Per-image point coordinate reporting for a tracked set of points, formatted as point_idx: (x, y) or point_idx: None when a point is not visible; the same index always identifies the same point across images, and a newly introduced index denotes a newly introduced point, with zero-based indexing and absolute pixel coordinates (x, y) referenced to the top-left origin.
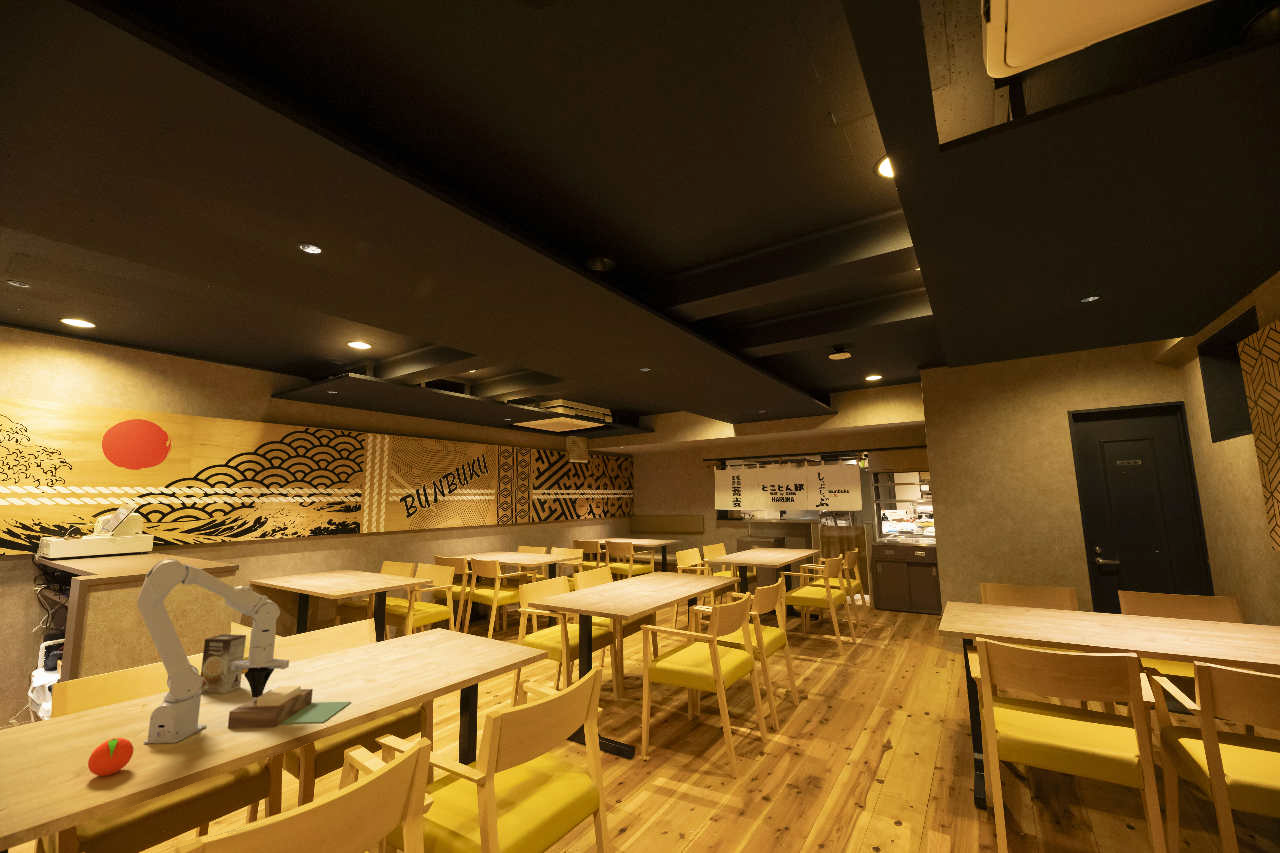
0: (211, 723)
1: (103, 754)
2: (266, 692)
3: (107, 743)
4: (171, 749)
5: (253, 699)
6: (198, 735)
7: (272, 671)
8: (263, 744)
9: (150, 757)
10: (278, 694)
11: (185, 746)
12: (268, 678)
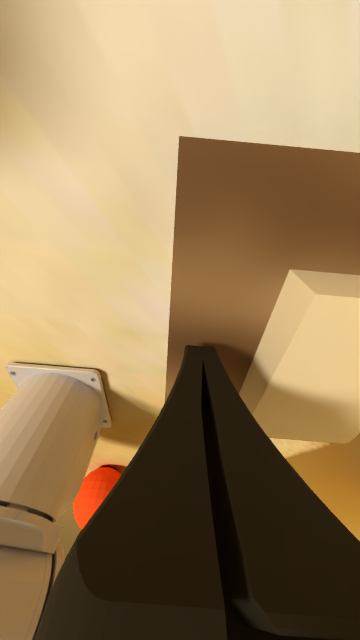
0: (87, 347)
1: None
2: (180, 221)
3: None
4: (128, 436)
5: (173, 339)
6: (125, 401)
7: (343, 537)
8: (297, 443)
9: (119, 449)
10: (334, 418)
11: (144, 432)
12: (269, 443)
